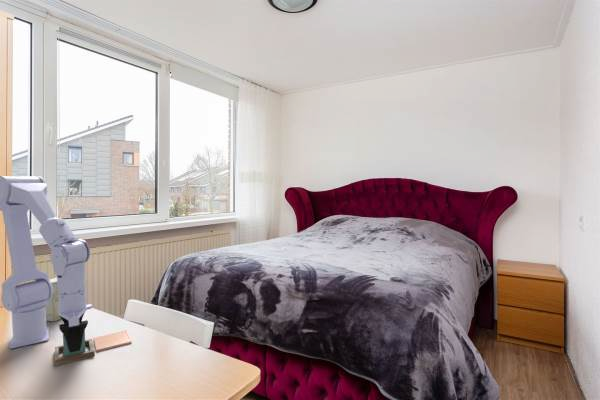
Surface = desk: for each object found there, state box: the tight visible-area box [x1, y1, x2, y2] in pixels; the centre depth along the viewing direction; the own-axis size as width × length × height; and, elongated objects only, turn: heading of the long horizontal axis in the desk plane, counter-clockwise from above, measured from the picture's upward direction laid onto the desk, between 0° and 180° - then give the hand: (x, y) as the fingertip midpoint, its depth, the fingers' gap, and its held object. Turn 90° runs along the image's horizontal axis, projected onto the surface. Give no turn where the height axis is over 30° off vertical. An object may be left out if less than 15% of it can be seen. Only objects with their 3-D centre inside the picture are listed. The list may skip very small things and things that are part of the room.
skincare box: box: [46, 277, 62, 322], centre depth 108 cm, size 6×4×12 cm
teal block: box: [62, 330, 87, 357], centre depth 85 cm, size 4×4×7 cm
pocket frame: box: [54, 338, 96, 367], centre depth 85 cm, size 8×8×1 cm
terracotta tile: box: [93, 330, 132, 353], centre depth 92 cm, size 8×8×1 cm
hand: (74, 344), depth 85 cm, fingers open, 7 cm apart
